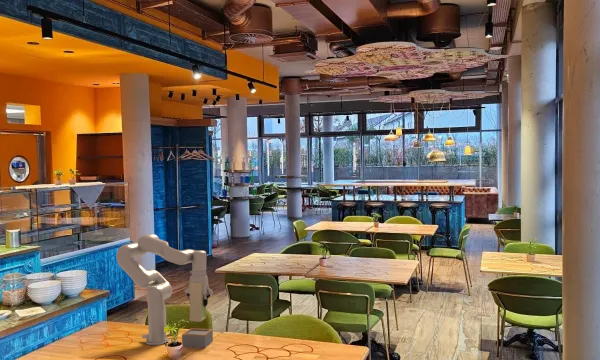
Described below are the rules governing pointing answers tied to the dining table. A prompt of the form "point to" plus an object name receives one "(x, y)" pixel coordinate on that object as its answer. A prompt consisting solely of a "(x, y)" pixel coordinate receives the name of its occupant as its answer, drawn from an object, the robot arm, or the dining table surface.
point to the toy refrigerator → (197, 302)
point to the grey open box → (197, 338)
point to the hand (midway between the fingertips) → (198, 305)
